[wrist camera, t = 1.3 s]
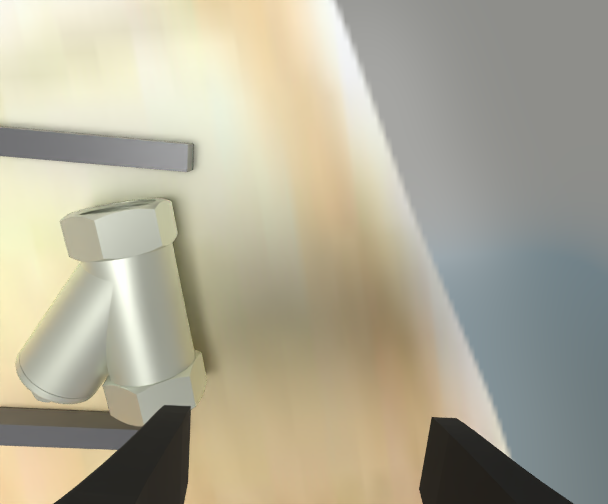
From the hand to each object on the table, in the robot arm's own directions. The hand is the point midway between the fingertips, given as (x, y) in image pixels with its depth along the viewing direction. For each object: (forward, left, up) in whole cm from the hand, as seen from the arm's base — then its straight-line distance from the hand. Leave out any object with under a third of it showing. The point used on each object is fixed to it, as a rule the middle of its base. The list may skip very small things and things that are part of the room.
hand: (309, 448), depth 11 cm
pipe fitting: (0, +8, -10) cm, 12 cm away
